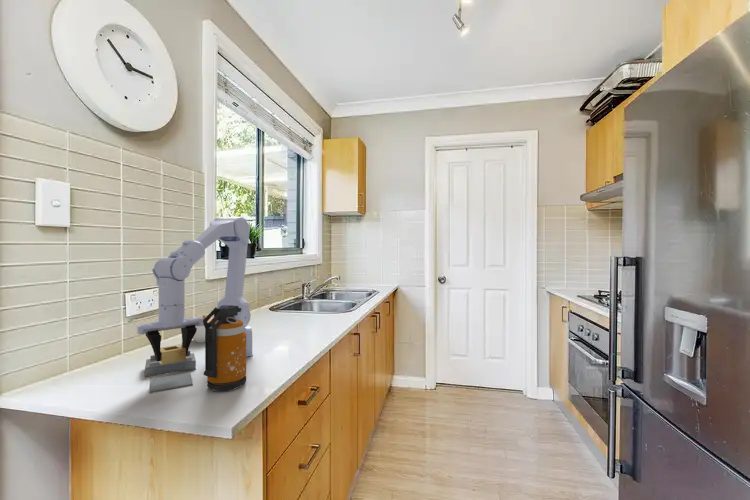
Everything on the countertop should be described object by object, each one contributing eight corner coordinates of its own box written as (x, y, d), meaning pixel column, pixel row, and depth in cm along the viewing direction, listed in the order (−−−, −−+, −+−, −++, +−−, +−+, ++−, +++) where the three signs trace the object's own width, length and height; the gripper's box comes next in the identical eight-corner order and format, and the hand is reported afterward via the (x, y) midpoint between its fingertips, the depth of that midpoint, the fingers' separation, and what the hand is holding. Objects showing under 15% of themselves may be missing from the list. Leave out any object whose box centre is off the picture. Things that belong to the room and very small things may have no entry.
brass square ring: (179, 355, 92) (179, 344, 92) (185, 360, 88) (185, 348, 88) (156, 360, 88) (156, 348, 88) (161, 364, 85) (161, 352, 85)
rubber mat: (190, 374, 94) (190, 372, 94) (192, 385, 87) (192, 383, 87) (151, 380, 90) (151, 378, 90) (149, 392, 82) (149, 391, 82)
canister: (253, 381, 89) (253, 304, 89) (221, 399, 79) (221, 311, 78) (225, 377, 92) (226, 302, 92) (191, 393, 81) (191, 309, 81)
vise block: (193, 361, 105) (193, 343, 105) (195, 369, 98) (195, 349, 98) (146, 368, 99) (146, 349, 99) (145, 377, 92) (145, 356, 92)
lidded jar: (198, 346, 121) (198, 319, 121) (181, 341, 127) (181, 316, 127) (225, 339, 130) (225, 314, 130) (209, 335, 136) (209, 311, 136)
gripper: (197, 299, 96) (196, 348, 96) (134, 305, 86) (134, 360, 86) (206, 302, 91) (205, 354, 91) (140, 309, 81) (140, 367, 81)
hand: (171, 357), depth 88 cm, fingers closed on brass square ring, 5 cm apart
